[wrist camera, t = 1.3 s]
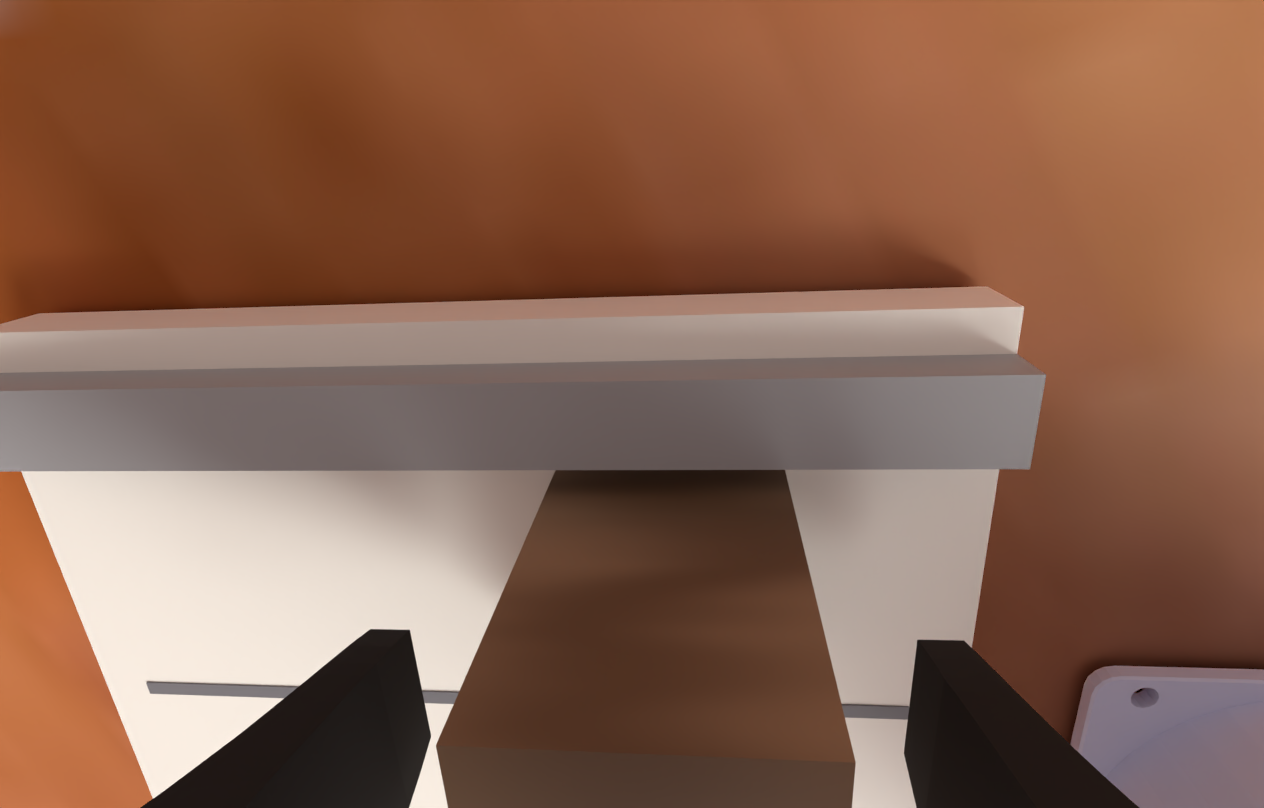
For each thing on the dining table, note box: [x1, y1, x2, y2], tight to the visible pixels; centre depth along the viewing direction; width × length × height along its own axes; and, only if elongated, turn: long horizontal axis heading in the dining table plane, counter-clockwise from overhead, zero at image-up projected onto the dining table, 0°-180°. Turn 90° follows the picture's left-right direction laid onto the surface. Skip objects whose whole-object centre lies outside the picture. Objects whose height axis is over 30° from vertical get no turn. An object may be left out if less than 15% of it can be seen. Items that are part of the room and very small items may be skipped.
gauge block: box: [436, 470, 856, 808], centre depth 10 cm, size 4×4×6 cm
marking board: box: [0, 286, 1046, 808], centre depth 14 cm, size 18×14×2 cm
